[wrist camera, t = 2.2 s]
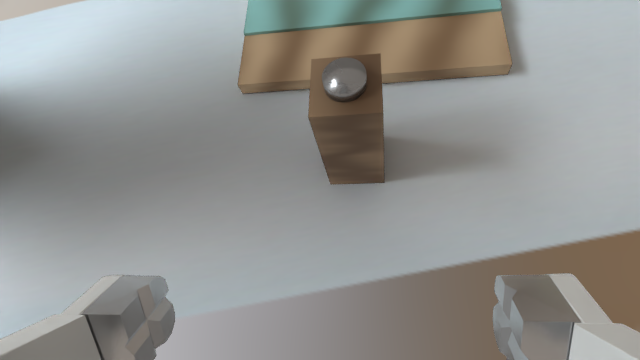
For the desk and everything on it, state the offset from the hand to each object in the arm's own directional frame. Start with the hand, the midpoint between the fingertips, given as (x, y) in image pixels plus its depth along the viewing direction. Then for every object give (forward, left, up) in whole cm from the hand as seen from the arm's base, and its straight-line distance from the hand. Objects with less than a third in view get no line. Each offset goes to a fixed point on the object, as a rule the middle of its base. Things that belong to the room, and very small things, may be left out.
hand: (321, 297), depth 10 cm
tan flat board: (+1, +27, -17) cm, 32 cm away
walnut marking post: (0, +12, -17) cm, 21 cm away
